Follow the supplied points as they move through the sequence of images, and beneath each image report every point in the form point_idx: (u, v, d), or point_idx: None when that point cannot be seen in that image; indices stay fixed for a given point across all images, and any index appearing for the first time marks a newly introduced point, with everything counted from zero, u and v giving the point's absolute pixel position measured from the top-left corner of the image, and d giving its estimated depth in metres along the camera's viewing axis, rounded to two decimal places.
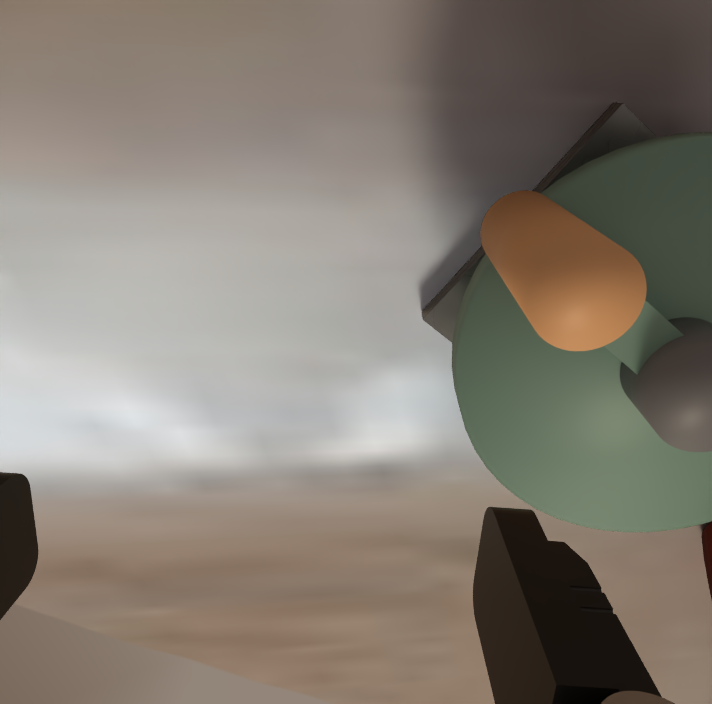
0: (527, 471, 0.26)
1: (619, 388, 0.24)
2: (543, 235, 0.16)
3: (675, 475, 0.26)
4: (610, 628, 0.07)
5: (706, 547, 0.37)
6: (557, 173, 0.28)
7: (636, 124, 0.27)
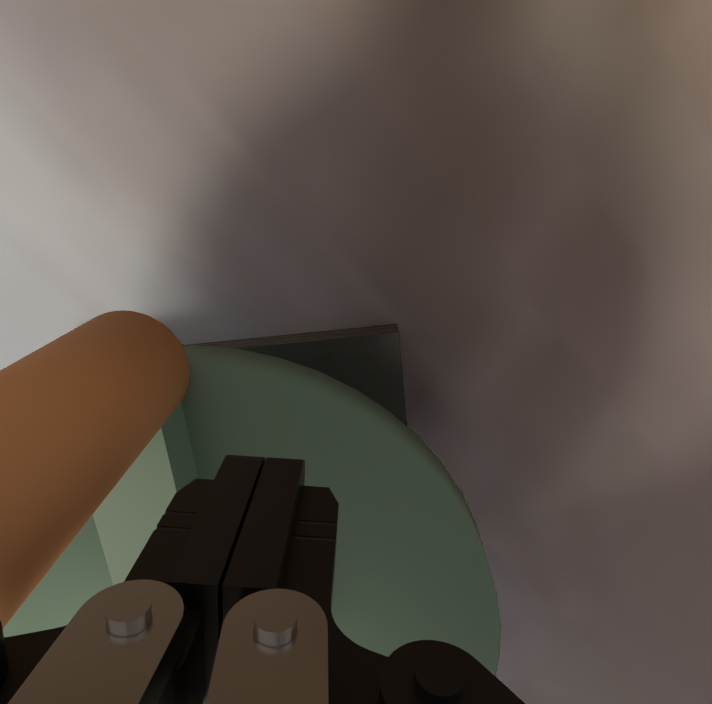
0: None
1: None
2: None
3: None
4: (322, 552, 0.09)
5: None
6: (294, 341, 0.22)
7: (395, 362, 0.22)
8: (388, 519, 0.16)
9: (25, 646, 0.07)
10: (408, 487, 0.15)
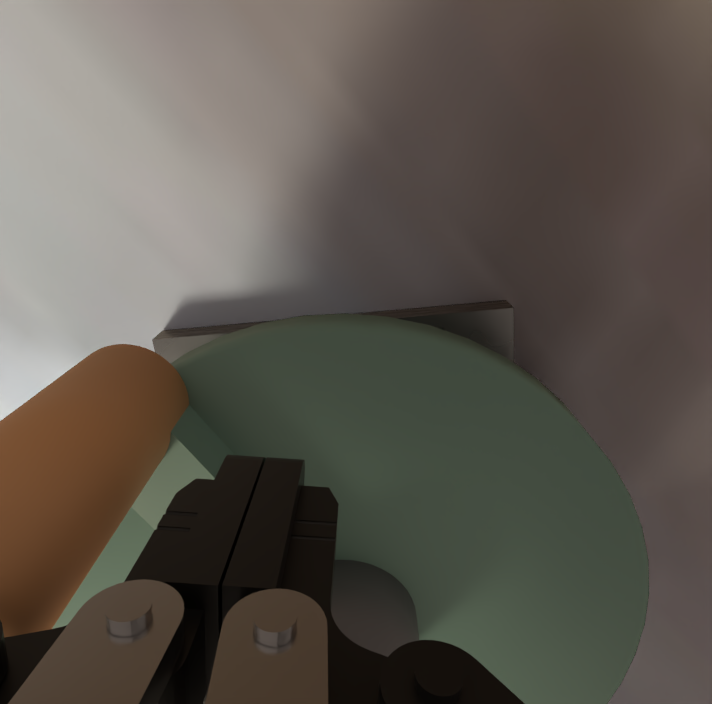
0: None
1: None
2: None
3: None
4: (322, 552, 0.09)
5: None
6: (406, 316, 0.22)
7: (508, 338, 0.22)
8: (436, 414, 0.15)
9: (26, 646, 0.07)
10: (435, 373, 0.14)
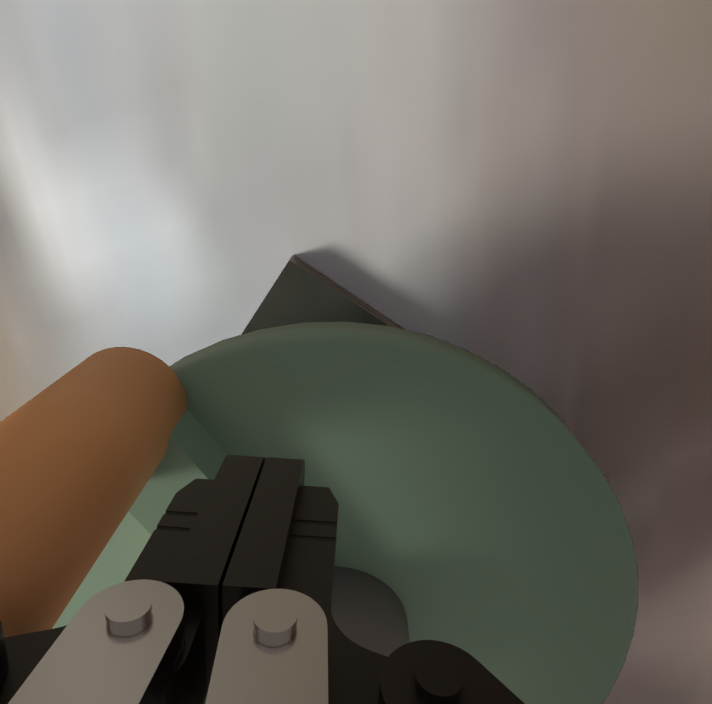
0: None
1: None
2: None
3: None
4: (322, 552, 0.09)
5: None
6: None
7: None
8: (433, 424, 0.15)
9: (25, 646, 0.07)
10: (433, 383, 0.14)
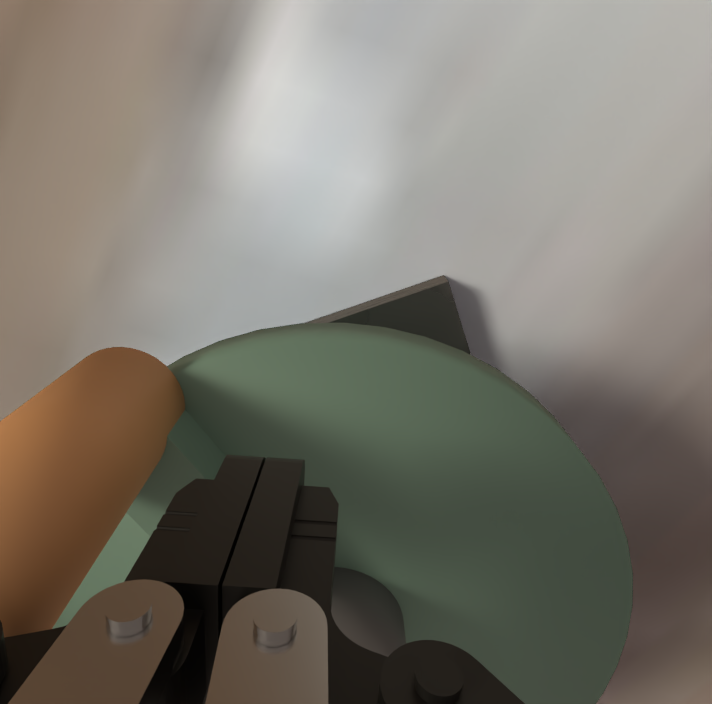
0: None
1: None
2: None
3: None
4: (322, 552, 0.09)
5: None
6: None
7: None
8: (430, 426, 0.15)
9: (25, 646, 0.07)
10: (431, 385, 0.14)
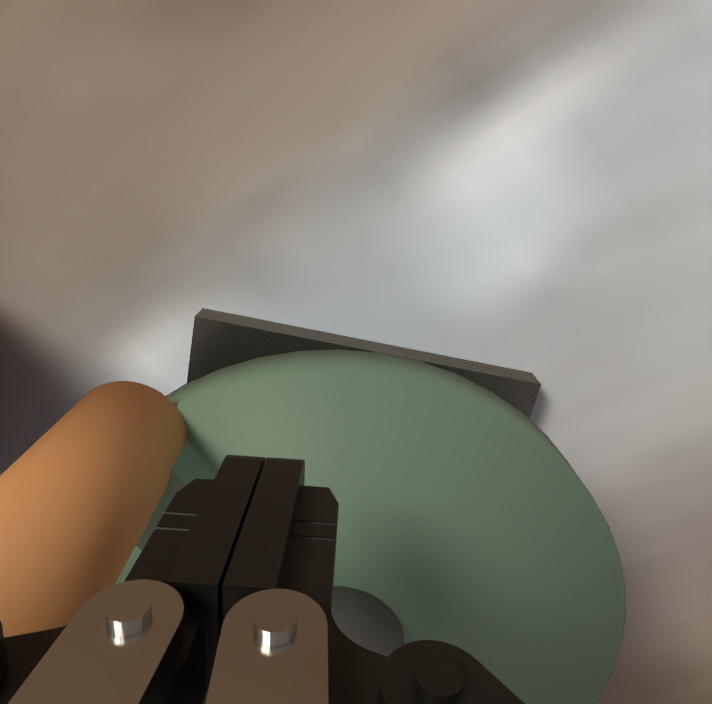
0: None
1: None
2: None
3: None
4: (322, 552, 0.09)
5: None
6: None
7: None
8: (426, 450, 0.15)
9: (25, 646, 0.07)
10: (426, 411, 0.15)
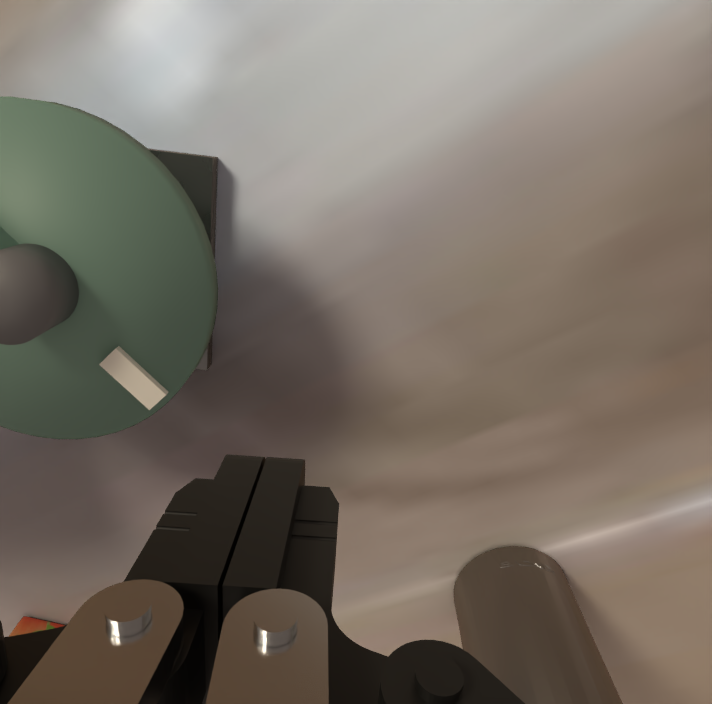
0: None
1: None
2: None
3: (63, 387, 0.31)
4: (322, 552, 0.09)
5: None
6: None
7: None
8: (47, 143, 0.27)
9: (25, 646, 0.07)
10: (39, 117, 0.27)
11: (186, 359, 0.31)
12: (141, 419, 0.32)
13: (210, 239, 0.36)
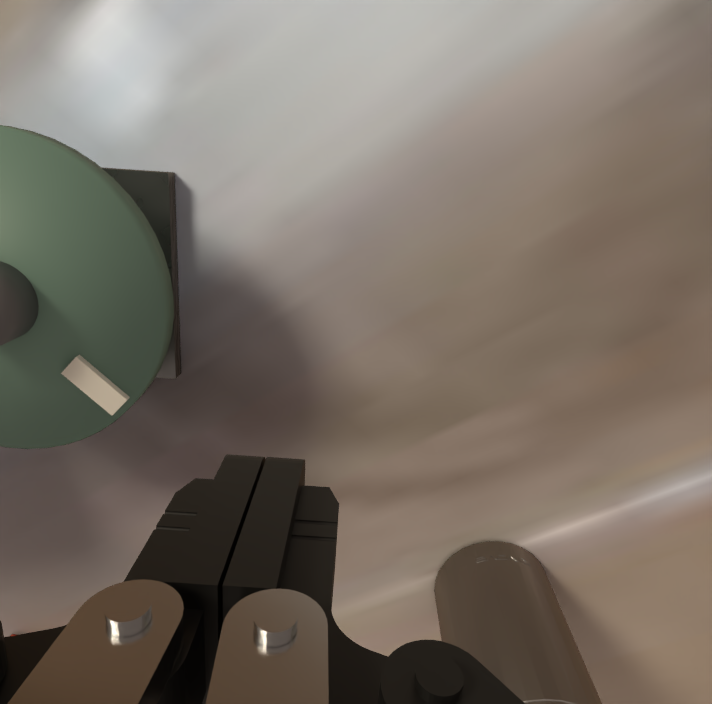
0: None
1: None
2: None
3: (29, 397, 0.33)
4: (322, 552, 0.09)
5: None
6: (174, 323, 0.39)
7: (158, 375, 0.40)
8: (1, 163, 0.29)
9: (25, 647, 0.07)
10: None
11: (144, 364, 0.32)
12: (105, 425, 0.33)
13: (171, 251, 0.37)
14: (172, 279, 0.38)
